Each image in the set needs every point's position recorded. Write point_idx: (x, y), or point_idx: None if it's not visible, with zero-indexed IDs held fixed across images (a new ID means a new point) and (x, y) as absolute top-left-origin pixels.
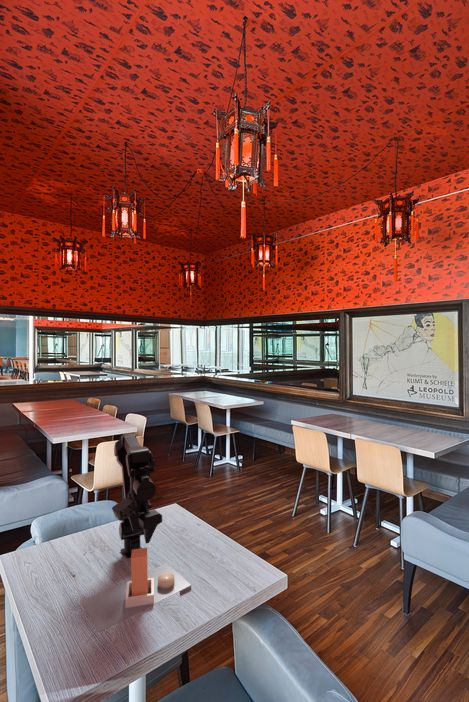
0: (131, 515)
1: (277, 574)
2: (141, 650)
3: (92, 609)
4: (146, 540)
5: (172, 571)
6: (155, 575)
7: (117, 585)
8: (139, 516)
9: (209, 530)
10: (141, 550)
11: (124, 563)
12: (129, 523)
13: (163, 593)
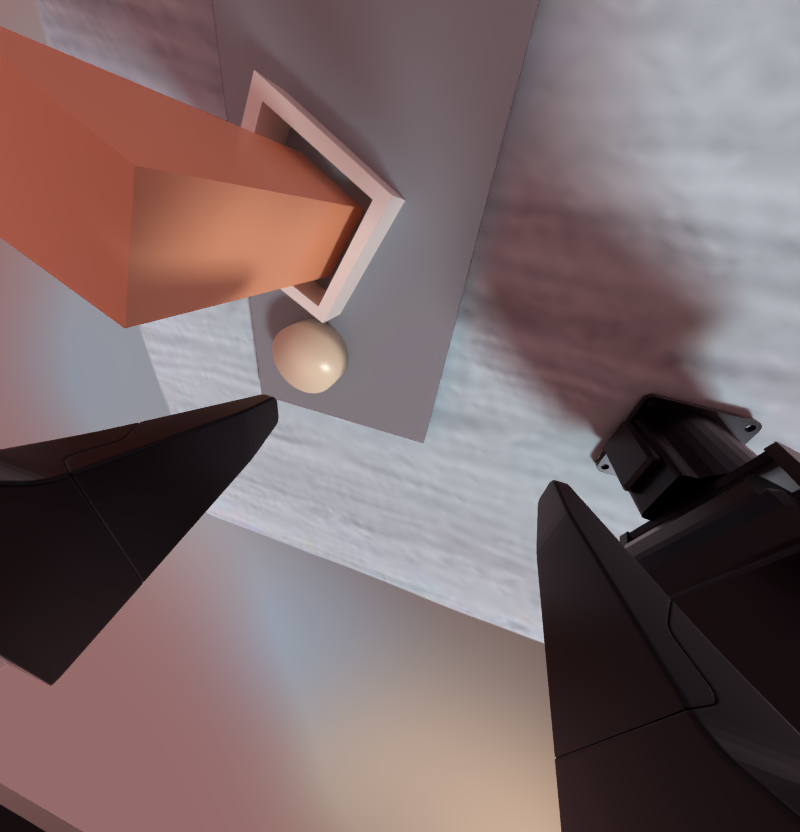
0: (676, 775)
1: (211, 514)
2: (64, 11)
3: None
4: (228, 405)
5: (364, 416)
6: (393, 365)
7: (485, 178)
8: (554, 706)
9: (461, 607)
10: (88, 251)
11: (635, 358)
12: (777, 587)
13: (275, 305)
